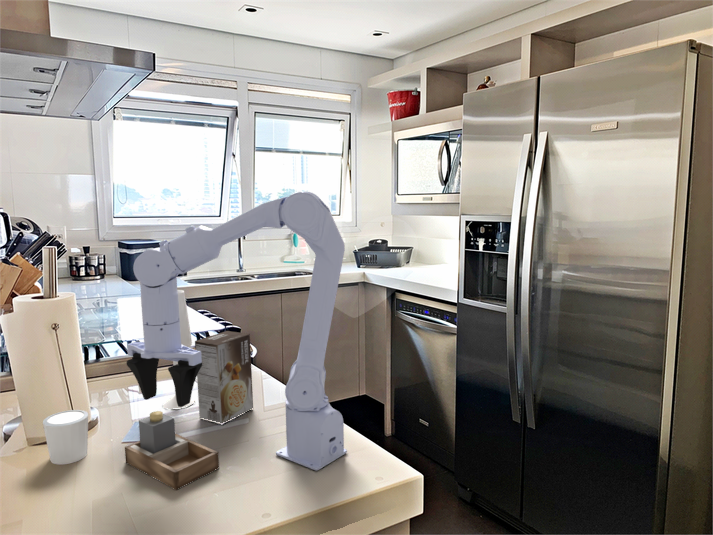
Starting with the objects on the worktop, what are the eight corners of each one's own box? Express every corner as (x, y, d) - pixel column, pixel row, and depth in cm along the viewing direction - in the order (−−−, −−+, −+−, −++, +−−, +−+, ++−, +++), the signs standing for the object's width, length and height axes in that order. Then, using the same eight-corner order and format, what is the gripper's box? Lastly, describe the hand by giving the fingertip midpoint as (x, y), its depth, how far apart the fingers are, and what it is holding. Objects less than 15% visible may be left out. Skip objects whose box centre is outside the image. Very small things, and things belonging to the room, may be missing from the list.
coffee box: (230, 404, 116) (227, 329, 113) (254, 409, 112) (251, 333, 110) (198, 419, 108) (193, 340, 106) (222, 426, 105) (218, 344, 102)
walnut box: (219, 468, 89) (218, 452, 88) (176, 490, 82) (175, 472, 82) (168, 444, 97) (167, 429, 97) (125, 462, 91) (124, 446, 91)
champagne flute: (176, 412, 111) (169, 296, 108) (154, 405, 115) (147, 293, 112) (201, 401, 117) (196, 290, 114) (180, 395, 121) (174, 288, 117)
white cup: (41, 468, 89) (37, 428, 88) (52, 450, 96) (48, 411, 95) (87, 463, 91) (84, 422, 90) (95, 444, 98) (92, 407, 97)
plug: (176, 454, 92) (173, 412, 91) (155, 464, 89) (152, 420, 88) (162, 448, 95) (159, 407, 94) (141, 457, 92) (138, 414, 91)
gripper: (109, 322, 89) (116, 402, 91) (176, 331, 83) (182, 417, 85) (143, 313, 96) (149, 388, 98) (208, 321, 89) (213, 401, 91)
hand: (166, 401), depth 92 cm, fingers open, 7 cm apart
